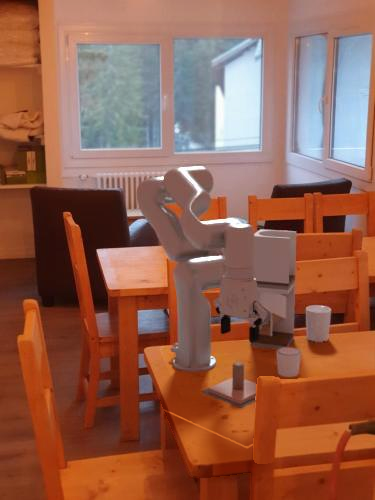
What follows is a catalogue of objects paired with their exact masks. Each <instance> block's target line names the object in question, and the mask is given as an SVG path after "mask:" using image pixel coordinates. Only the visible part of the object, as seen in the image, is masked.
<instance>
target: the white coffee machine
mask: <svg viewBox="0 0 375 500" xmlns="http://www.w3.org/2000/svg"><path fill="white" fill-rule="evenodd" d="M296 257H297V231H293V230H278V229H277V230H276V229H264V228H262V229H259V230H257V231H256V232H254V278H255V279H256V282H257V288H258V297H259V305H260V306H261V307H263V308H264V309H265V310H266V311H267V312H268V314H267V316H266V318H265V321H264V322H263V323H262V324H261V325H260V326H259V340H257V341H255V342H250V341H249V343H250V347H256V348H257V347H258V348H265V349H274V350H277V349H278V348H281V347H290V346H291V344H292V342H293V340H294V338H295V337H294V335H295V334H294V333H295V331H294V330H295V302H296V301H295V299H296V295H295V293H296V266H297V265H296V261H297V258H296ZM257 316H258V317H259V313H258V315H257ZM252 319H253V320H254V318H252ZM254 322H255V320H254Z"/></svg>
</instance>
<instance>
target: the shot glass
mask: <svg viewBox="0 0 375 500" xmlns="http://www.w3.org/2000/svg"><path fill="white" fill-rule="evenodd" d="M275 350H276V351H275V352H276V366H277V374H278V375H279V376H280V377H285V378H293V377H297V376H298V375H299V373H300V363H301V357H302V356H301V355H302V351H301V349H299V348H298V347H297V348H296V347H293V346H289V347H281V348H278V349H275Z"/></svg>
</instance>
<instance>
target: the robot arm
mask: <svg viewBox="0 0 375 500" xmlns="http://www.w3.org/2000/svg"><path fill="white" fill-rule="evenodd" d="M213 189H214V177H213V175H212V173H211V171H210V170H209V169H208V168H206V166H205V167H204V166H203V165H202V166H201V165H198V166H197V165H196V166H184V167H175V168H174V167H173V168H171V169H170V170H168V171H167V172H166V173H165V174H164V175H163V176H154V177H150V178H146V179H143V180H142V181H141V182H140V183H139V184H138V186H137V189H136V201H137V204H138V207H139V211H140V212H141V214H142V216H143V217H144V219H145V220H146V221H147V223H148V224H149V225H150V226H151V228H153V231H154V232H155V234H156V236H157V238H158V241H159V243H160V244H161V247H162V248H163V250H164V252H165V254H166V256H167V257H168V259H169V260H170V261H171V262H173V263H177V264H176V265H175V266H174V268H173V281H174V286H175V292H176V293H175V294H176V305H177V309H176V310H177V311H176V312H177V342H175V343H173V346H171V347H170V351H171V352H172V353H175V357H174V358H173V359H172V365H173V367H174V368H175V369H177V370H179V371H182V372H189V373H191V372H193V373H196V372H197V373H198V372H205V371H208V370H212V369H213V368H215V367H216V365H217V360H216V358H215V357H214V356H213V355H212V352H211V351H212V348H211V347H212V346H211V345H212V344H211V343H212V341H211V340H212V339H211V338H212V334H211V333H212V332H211V331H212V329H211V326H212V320H211V319H212V314H211V311H212V310H211V304H210V301H209V299H208V298H207V297H206V296H205V294H204V292H205V291H209V290H215V289H219V297H217V298H215V299H213V301H212V302H213V305H214V307H215V312H216V313H217V314H218V315H217V317H218V319H220V334H221V335H225V334H227V333H230V332H231V329H232V328H231V326H232V325H231V321H232V320H231V317H233V318H235V319H238V320H245V321H246V320H247V322H248V323H249V325H250V326H249V328H248V329H249V330H248V331H249V332H248V336H249V338H248V339H249V343H250V342H255V341H257V340H259V326H260V325H261V324H262V323H263V322H264V321H265V318H266V316H267V314H268V312H267V311H266V310H265V309H264V308H263V307H261V306H260V305H259V297H258V288H257V282H256V279H255V278H254V234H255V228H254V226H253V225H252V224H250V223H249V224H248V223H243V222H241V221H240V220H239V219H236V218H231V217H230V218H224V219H223V218H222V219H212V220H211V219H210V220H203V221H201V220H200V219H199V218H201V217H202V216H203V215H205V213H207V211H208V210H209V209H210V207H211V204H212V197H211V195H210V193H211V192H212V190H213ZM173 204H174V205H175V204H176V205H177V206H178V207H179V209H181V215H180V216H179V215H178V214H177V213H176V212H175V211H173V209H171V208H169V207H167V206H166V205H173ZM258 313H259V317H258V316H257V315H258ZM252 318H254V320H255V322H254V320H253V319H252Z"/></svg>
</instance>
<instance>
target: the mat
mask: <svg viewBox="0 0 375 500" xmlns="http://www.w3.org/2000/svg"><path fill="white" fill-rule="evenodd" d="M209 388H210V387H208V388H206V389H204V390H200V393H202V394H204V395H208V396H210V397H212V398H215V399H218V400H220V401H223V402H225V403H227V404H230V405H232V406H235V407H237V408H240V409H242V408H244V407H246V406H248V405H250V404H252V403H255V402H256V401H255V397H254V398H252V399H250V400H248V401H246V402H244V403H242V404H238V403H236V402H233V401H231V400H228V399H226V398H223V397H221V396H218V395H216V394H213V393H211V392H209Z"/></svg>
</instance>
